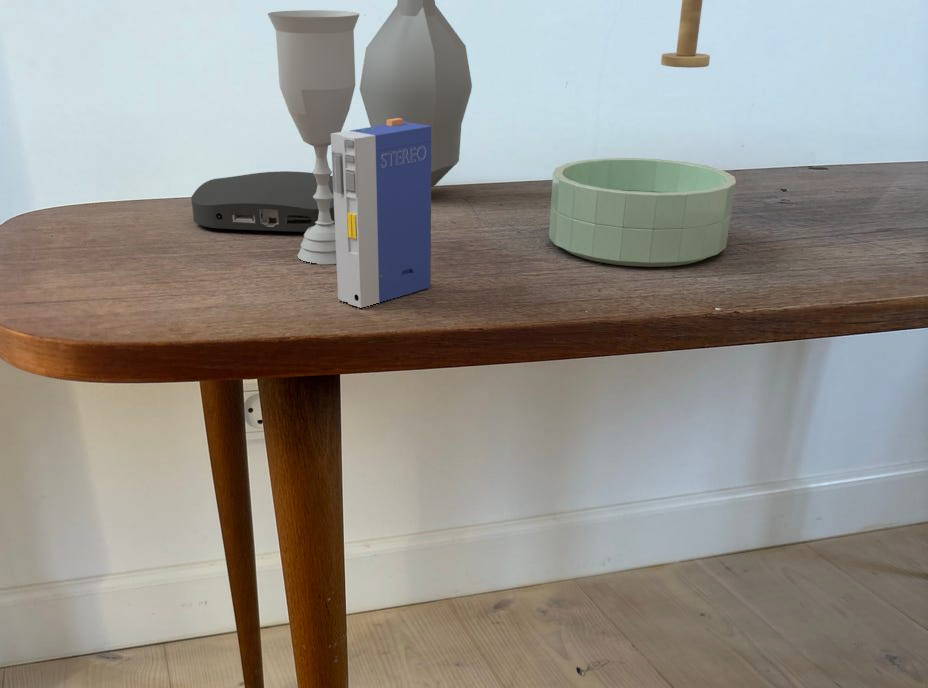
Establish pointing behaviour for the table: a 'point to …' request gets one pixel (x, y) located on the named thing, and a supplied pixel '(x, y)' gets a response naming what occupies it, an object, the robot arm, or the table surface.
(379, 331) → the table surface
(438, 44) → the grey faceted vase
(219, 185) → the media streaming box
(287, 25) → the chalice
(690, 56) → the stirring stick
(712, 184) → the bowl
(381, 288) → the walkman
